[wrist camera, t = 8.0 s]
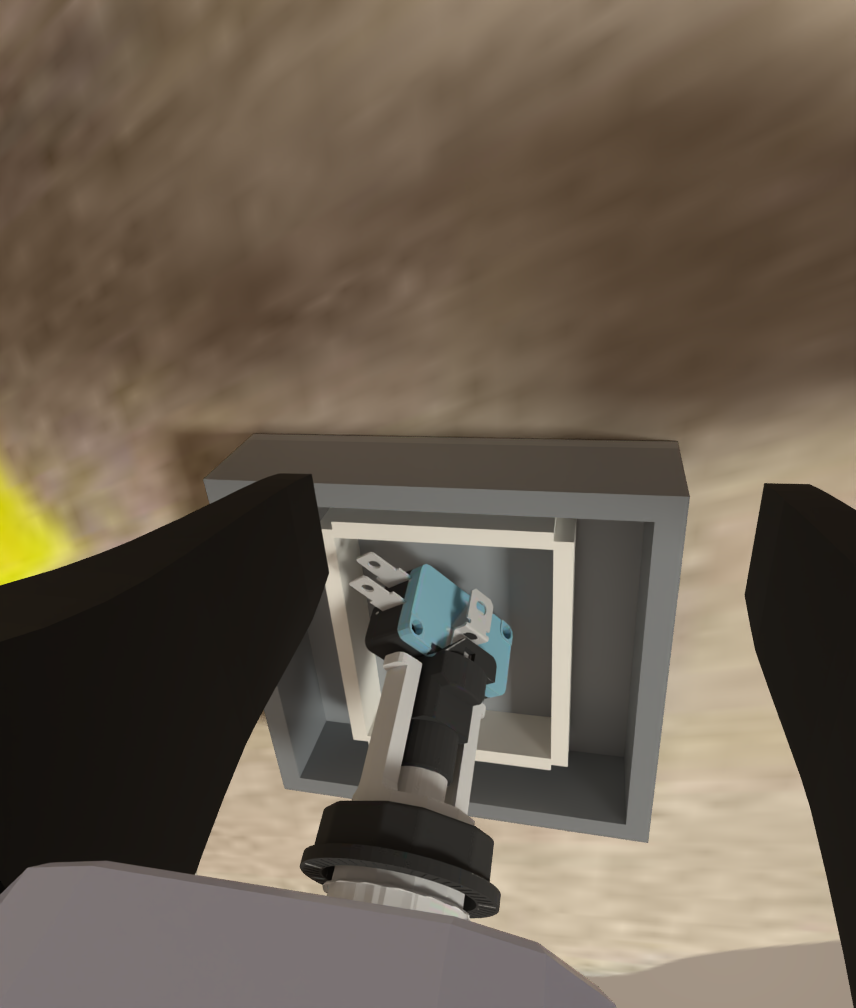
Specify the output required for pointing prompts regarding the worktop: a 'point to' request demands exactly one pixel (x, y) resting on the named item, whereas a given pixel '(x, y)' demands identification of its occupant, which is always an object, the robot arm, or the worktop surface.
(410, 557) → the grey square tray
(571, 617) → the cream rectangular frame
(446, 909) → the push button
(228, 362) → the worktop surface
